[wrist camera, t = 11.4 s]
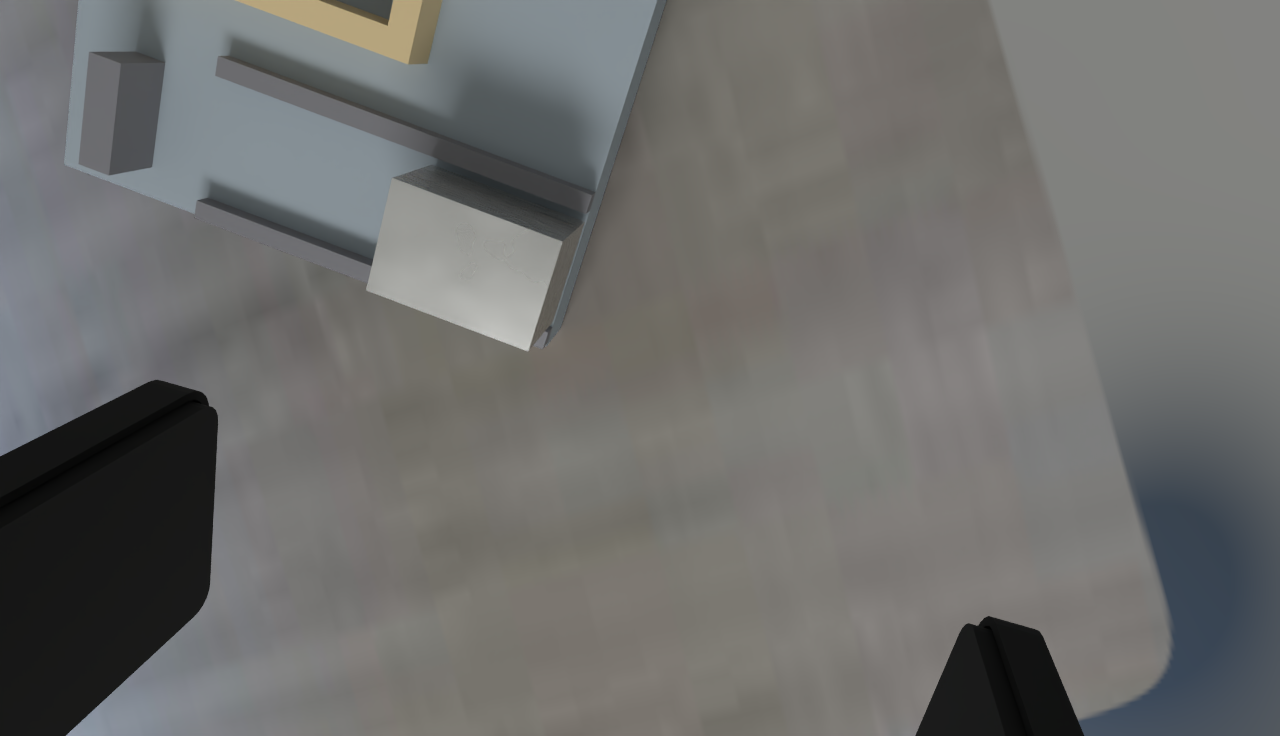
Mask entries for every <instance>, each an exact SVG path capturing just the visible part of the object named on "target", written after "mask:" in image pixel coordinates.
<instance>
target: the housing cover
mask: <svg viewBox="0 0 1280 736" xmlns="http://www.w3.org/2000/svg"><path fill="white" fill-rule="evenodd" d="M584 223H585V222H584V221H582V220H579V219H576V218H574V217H571V216H568V215H566V214H563V213H560V212H558V211H555V210H552V209H550V208H547V207H544V206H542V205H539V204H536V203H534V202H531V201H528V200H526V199H523V198H520V197H517V196H515V195H512V194H509V193H507V192H504V191H501V190H499V189H496V188H493V187H491V186H488V185H485V184H483V183H480V182H477V181H475V180H472V179H469V178H467V177H464V176H461V175H459V174H456V173H453V172H451V171H448V170H445V169H442V168H440V167H437V166H434V165H429V166H426V167H423V168H420V169H417V170H414V171H411V172H408V173H405V174H402V175H399V176H396V177H393V178H392V180H391V185H390V189H389V193H388V198H387V202H386V206H385V211H384V215H383V219H382V224H381V228H380V232H379V237H378V241H377V245H376V250H375V254H374V258H373V263H372V267H371V271H370V276H369V280H368V284H367V289H366V291H369V292H372V293H374V294H377V295H380V296H382V297H385V298H388V299H390V300H393V301H396V302H398V303H401V304H404V305H406V306H409V307H412V308H414V309H417V310H420V311H422V312H425V313H428V314H430V315H433V316H435V317H438V318H441V319H443V320H446V321H449V322H451V323H454V324H457V325H459V326H462V327H465V328H467V329H470V330H473V331H475V332H478V333H481V334H483V335H486V336H489V337H491V338H494V339H497V340H499V341H502V342H505V343H507V344H510V345H512V346H515V347H518V348H520V349H523V350H526V351H529V350H530V349H531V348H532V346H533V345H534V344H535V343H536V341H537V340H538V339H539V338H540V337H541V335H542V334H543V333H544V332H545V331H546V329H547V328H548V327H549V326H550V325H551V323H552V322H553V320H554V317H555V314H556V311H557V307H558V304H559V301H560V298H561V295H562V292H563V289H564V286H565V282H566V279H567V276H568V273H569V270H570V267H571V264H572V261H573V257H574V254H575V251H576V248H577V245H578V242H579V239H580V236H581V232H582V229H583V226H584Z"/></svg>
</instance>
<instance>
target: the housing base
mask: <svg viewBox="0 0 1280 736" xmlns="http://www.w3.org/2000/svg"><path fill="white" fill-rule="evenodd" d="M666 1H667V0H79V2H78V13H77V25H76V36H75V47H74V59H73V70H72V81H71V93H70V104H69V115H68V127H67V138H66V149H65V161H64V165H66V166H69V167H72V168H74V169H77V170H79V171H82V172H85V173H87V174H90V175H93V176H95V177H98V178H101V179H103V180H106V181H109V182H111V183H114V184H117V185H119V186H122V187H125V188H127V189H130V190H133V191H135V192H138V193H141V194H143V195H146V196H149V197H151V198H154V199H157V200H159V201H162V202H164V203H167V204H170V205H172V206H175V207H178V208H180V209H183V210H186V211H188V212H191V213H194V214H195V215H194V218H195V219H198V220H200V221H203V222H206V223H208V224H211V225H214V226H216V227H219V228H222V229H224V230H227V231H230V232H232V233H235V234H238V235H240V236H243V237H246V238H248V239H251V240H254V241H256V242H259V243H262V244H264V245H267V246H269V247H272V248H275V249H277V250H280V251H283V252H285V253H288V254H291V255H293V256H296V257H299V258H301V259H304V260H307V261H309V262H312V263H315V264H317V265H320V266H323V267H325V268H328V269H331V270H333V271H336V272H339V273H341V274H344V275H346V276H349V277H352V278H354V279H357V280H360V281H362V282H365V283H368V280H369V276H370V271H371V267H372V263H373V258H374V254H375V250H376V245H377V241H378V237H379V232H380V228H381V224H382V219H383V215H384V211H385V206H386V202H387V198H388V193H389V189H390V185H391V180H392V178H393V177H396V176H399V175H402V174H405V173H408V172H411V171H414V170H417V169H420V168H423V167H426V166H429V165H434V166H437V167H440V168H442V169H445V170H448V171H451V172H453V173H456V174H459V175H461V176H464V177H467V178H469V179H472V180H475V181H477V182H480V183H483V184H485V185H488V186H491V187H493V188H496V189H499V190H501V191H504V192H507V193H509V194H512V195H515V196H517V197H520V198H523V199H526V200H528V201H531V202H534V203H536V204H539V205H542V206H544V207H547V208H550V209H552V210H555V211H558V212H560V213H563V214H566V215H568V216H571V217H574V218H576V219H579V220H582V221H584V222H585V223H584V226H583V229H582V232H581V236H580V239H579V242H578V245H577V248H576V251H575V254H574V257H573V261H572V264H571V267H570V270H569V273H568V276H567V279H566V282H565V286H564V289H563V292H562V295H561V298H560V301H559V304H558V307H557V311H556V314H555V317H554V320H553V322H552V323H551V325H550V326H549V327H548V328H547V329H546V331H545V332H544V333H543V334H542V335H541V337H540V338H539V339H538V340H537V341H536V343H535V344H534V345H533V346H535V347H538V348H540V349H543V348H544V347H545V346H547V345H548V344H549V342H550V341H551V340H552V339H553V337H554V336H555V335H556V333H557V332H558V331H559V330H560V328H561V325H562V322H563V319H564V316H565V313H566V310H567V307H568V304H569V300H570V297H571V294H572V291H573V288H574V285H575V282H576V279H577V276H578V273H579V270H580V267H581V263H582V260H583V257H584V254H585V251H586V248H587V245H588V242H589V239H590V236H591V233H592V229H593V226H594V223H595V220H596V217H597V214H598V211H599V208H600V205H601V202H602V199H603V196H604V192H605V189H606V186H607V183H608V180H609V177H610V174H611V171H612V168H613V165H614V162H615V159H616V155H617V152H618V149H619V146H620V143H621V140H622V137H623V134H624V131H625V128H626V125H627V121H628V118H629V115H630V112H631V109H632V106H633V103H634V100H635V97H636V94H637V91H638V88H639V84H640V81H641V78H642V75H643V72H644V69H645V66H646V63H647V60H648V57H649V54H650V50H651V47H652V44H653V41H654V38H655V35H656V32H657V29H658V26H659V23H660V20H661V17H662V13H663V10H664V7H665V4H666Z"/></svg>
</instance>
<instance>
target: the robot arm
mask: <svg viewBox="0 0 1280 736" xmlns="http://www.w3.org/2000/svg"><path fill="white" fill-rule="evenodd" d="M217 432H218V415H217V412H216V410H215V409H214V408H213V407H210V406H209V403H208V400H207V398H206V396H205V395H204V394H203V393H202V392H200V391H196V390H192V389H189V388H185V387H182V386H178V385H175V384H171V383H168V382H164V381H160V380H154V381H150V382H148V383H146V384H144V385H142V386H140V387H138V388H136V389H134V390H132V391H130V392H128V393H126V394H124V395H122V396H120V397H118V398H116V399H114V400H112V401H110V402H108V403H106V404H104V405H102V406H100V407H98V408H96V409H94V410H92V411H90V412H88V413H86V414H84V415H82V416H80V417H78V418H76V419H74V420H72V421H70V422H68V423H66V424H64V425H62V426H60V427H58V428H56V429H54V430H52V431H50V432H48V433H46V434H44V435H42V436H40V437H38V438H36V439H34V440H32V441H30V442H28V443H26V444H24V445H22V446H20V447H18V448H16V449H14V450H12V451H10V452H8V453H6V454H4V455H2V456H0V736H66V735H67V734H68V733H69V732H70V731H71V730H72V729H73V728H74V727H75V726H76V725H78V724H79V723H80V722H81V721H82V720H83V719H84V718H85V717H86V716H87V715H88V714H89V713H90V712H92V711H93V710H94V709H95V708H96V707H97V706H98V705H99V704H100V703H101V702H102V701H103V700H105V699H106V698H107V697H108V696H109V695H110V694H111V693H112V692H113V691H114V690H115V689H116V688H117V687H119V686H120V685H121V684H122V683H123V682H124V681H125V680H126V679H127V678H128V677H129V676H130V675H132V674H133V673H134V672H135V671H136V670H137V669H138V668H139V667H140V666H141V665H142V664H143V663H144V662H146V661H147V660H148V659H149V658H150V657H151V656H152V655H153V654H154V653H155V652H156V651H157V650H158V649H160V648H161V647H162V646H163V645H164V644H165V643H166V642H167V641H168V640H169V639H170V638H171V637H173V636H174V635H175V634H176V633H177V632H178V631H179V630H180V629H181V628H182V627H183V626H184V625H185V624H187V623H188V622H189V621H190V620H191V619H192V618H193V617H194V616H195V615H196V614H197V613H198V612H199V610H200V609H201V607H202V606H203V604H204V602H205V600H206V598H207V595H208V592H209V587H210V573H211V553H212V533H213V512H214V492H215V472H216V452H217ZM916 736H1084V734H1083V732H1082V729H1081V727H1080V725H1079V722H1078V720H1077V717H1076V715H1075V713H1074V710H1073V708H1072V705H1071V703H1070V701H1069V698H1068V696H1067V693H1066V691H1065V689H1064V686H1063V684H1062V681H1061V679H1060V677H1059V674H1058V672H1057V669H1056V667H1055V664H1054V662H1053V660H1052V657H1051V655H1050V652H1049V650H1048V648H1047V645H1046V643H1045V640H1044V638H1043V636H1042V635H1041V633H1040V631H1038V630H1035V629H1032V628H1029V627H1025V626H1022V625H1018V624H1015V623H1011V622H1008V621H1004V620H1001V619H997V618H994V617H990V616H988V617H986V618H984V619H983V620H982V621H981V622H980V624H979V626H976V625H973V624H969V623H968V624H966V625H965V626H964V627H963V628H962V630H961V632H960V633H959V636H958V638H957V640H956V643H955V645H954V647H953V650H952V652H951V654H950V657H949V659H948V661H947V664H946V666H945V668H944V671H943V673H942V675H941V678H940V680H939V682H938V685H937V687H936V689H935V691H934V694H933V696H932V698H931V701H930V703H929V705H928V708H927V710H926V712H925V715H924V717H923V719H922V722H921V724H920V726H919V729H918V731H917V733H916Z"/></svg>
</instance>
